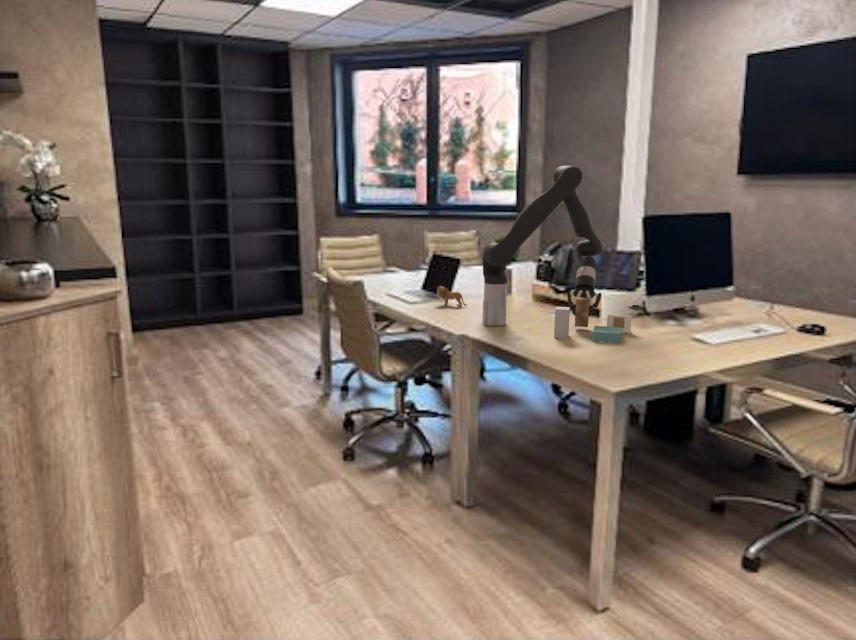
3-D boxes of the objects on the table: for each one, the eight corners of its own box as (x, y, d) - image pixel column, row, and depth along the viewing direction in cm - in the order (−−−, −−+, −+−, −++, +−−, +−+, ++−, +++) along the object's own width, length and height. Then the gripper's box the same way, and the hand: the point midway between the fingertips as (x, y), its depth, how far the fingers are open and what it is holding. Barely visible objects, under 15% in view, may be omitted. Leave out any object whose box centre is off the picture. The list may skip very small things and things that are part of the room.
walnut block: (574, 326, 254) (576, 298, 251) (575, 323, 259) (577, 296, 256) (587, 327, 253) (589, 299, 250) (588, 324, 257) (590, 297, 255)
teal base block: (591, 342, 239) (592, 331, 238) (594, 335, 248) (595, 325, 247) (619, 344, 235) (620, 333, 235) (621, 337, 245) (622, 327, 244)
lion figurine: (435, 305, 303) (435, 286, 301) (438, 303, 308) (438, 284, 306) (465, 307, 298) (465, 288, 296) (468, 305, 303) (468, 286, 301)
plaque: (606, 332, 252) (607, 315, 250) (606, 329, 255) (607, 313, 254) (630, 333, 249) (631, 317, 248) (630, 331, 253) (631, 315, 251)
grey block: (554, 337, 244) (555, 309, 241) (555, 334, 249) (556, 306, 246) (567, 338, 242) (568, 309, 240) (568, 335, 247) (569, 307, 245)
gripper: (567, 273, 260) (563, 308, 252) (604, 275, 256) (601, 310, 248) (567, 284, 266) (563, 318, 258) (603, 286, 262) (600, 321, 254)
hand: (582, 314), depth 253 cm, fingers closed on walnut block, 5 cm apart
